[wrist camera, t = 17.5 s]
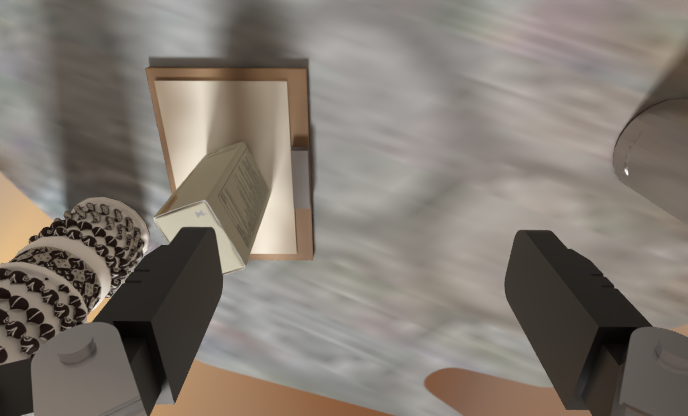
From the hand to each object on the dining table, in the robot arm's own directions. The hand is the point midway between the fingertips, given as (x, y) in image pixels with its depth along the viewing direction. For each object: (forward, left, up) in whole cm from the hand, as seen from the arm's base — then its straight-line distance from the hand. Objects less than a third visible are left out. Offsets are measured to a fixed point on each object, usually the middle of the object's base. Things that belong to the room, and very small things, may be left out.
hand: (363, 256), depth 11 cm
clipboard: (+11, +9, -28) cm, 31 cm away
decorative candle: (+26, +16, -28) cm, 42 cm away
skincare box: (+11, +9, -27) cm, 31 cm away
